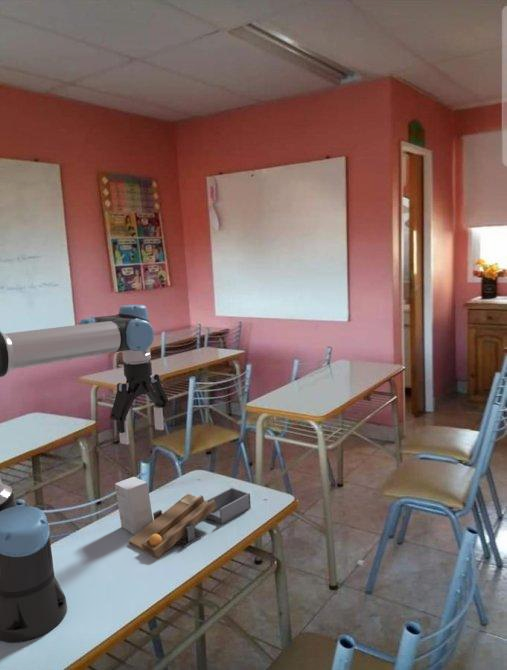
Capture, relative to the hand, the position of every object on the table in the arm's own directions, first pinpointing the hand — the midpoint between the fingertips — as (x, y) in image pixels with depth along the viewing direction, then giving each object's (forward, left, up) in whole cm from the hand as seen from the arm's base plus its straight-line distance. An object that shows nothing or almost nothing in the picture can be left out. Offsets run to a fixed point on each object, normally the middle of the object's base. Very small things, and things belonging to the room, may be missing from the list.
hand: (142, 436), depth 154 cm
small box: (-4, +1, -26) cm, 26 cm away
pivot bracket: (0, -10, -26) cm, 28 cm away
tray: (+18, -14, -26) cm, 34 cm away
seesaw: (0, -10, -23) cm, 25 cm away
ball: (-9, -14, -23) cm, 28 cm away
